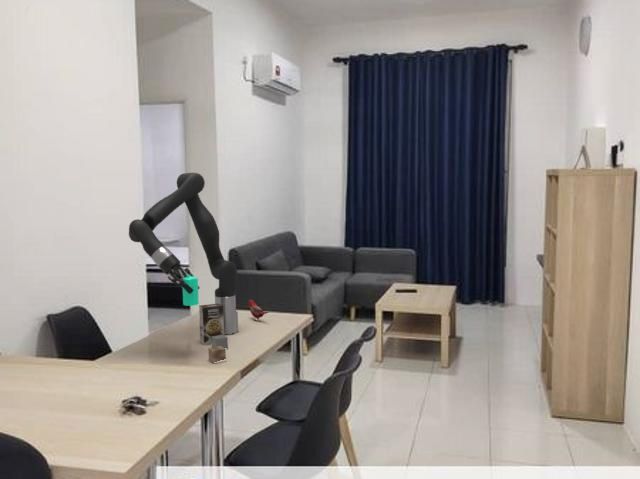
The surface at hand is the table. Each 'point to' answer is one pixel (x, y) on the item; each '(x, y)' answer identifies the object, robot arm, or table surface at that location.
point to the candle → (193, 297)
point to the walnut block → (216, 353)
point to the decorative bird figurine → (256, 310)
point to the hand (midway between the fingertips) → (194, 290)
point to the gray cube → (219, 341)
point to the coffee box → (211, 322)
